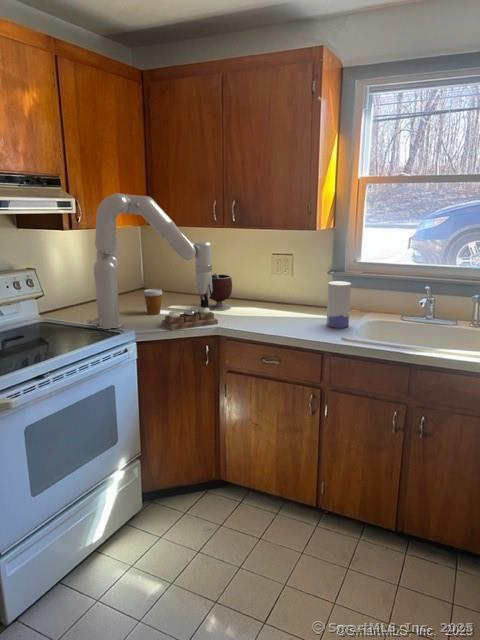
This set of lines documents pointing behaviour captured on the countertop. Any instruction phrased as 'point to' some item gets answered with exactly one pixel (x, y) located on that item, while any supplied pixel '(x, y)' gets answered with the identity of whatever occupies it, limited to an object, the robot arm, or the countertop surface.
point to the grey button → (189, 312)
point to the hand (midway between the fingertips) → (204, 307)
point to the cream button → (174, 314)
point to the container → (338, 304)
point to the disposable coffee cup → (153, 300)
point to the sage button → (204, 311)
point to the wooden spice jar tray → (189, 321)
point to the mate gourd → (220, 291)
